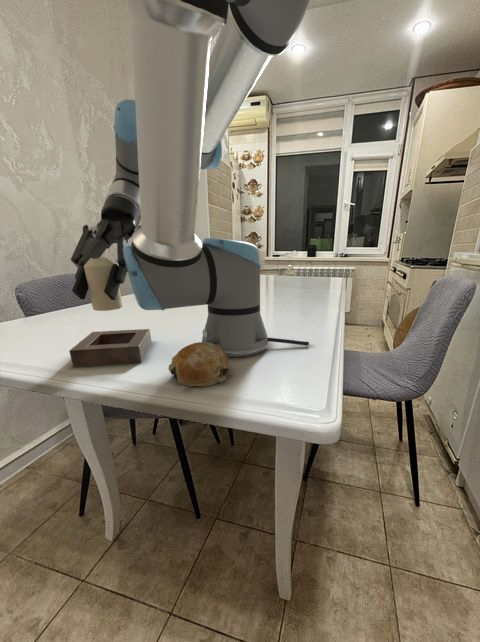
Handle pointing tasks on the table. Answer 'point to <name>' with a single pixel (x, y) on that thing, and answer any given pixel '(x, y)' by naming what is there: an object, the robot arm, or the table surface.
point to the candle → (100, 284)
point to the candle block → (111, 348)
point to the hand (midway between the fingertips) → (94, 295)
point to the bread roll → (200, 365)
